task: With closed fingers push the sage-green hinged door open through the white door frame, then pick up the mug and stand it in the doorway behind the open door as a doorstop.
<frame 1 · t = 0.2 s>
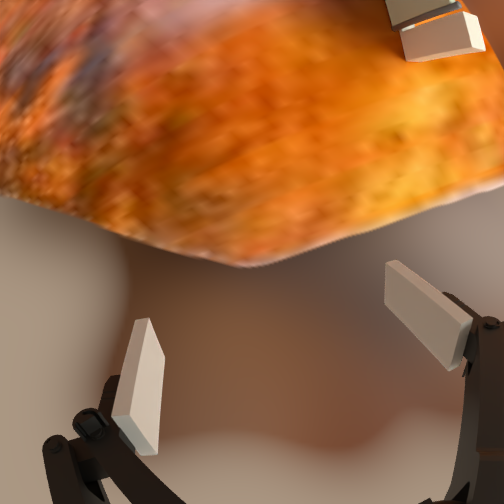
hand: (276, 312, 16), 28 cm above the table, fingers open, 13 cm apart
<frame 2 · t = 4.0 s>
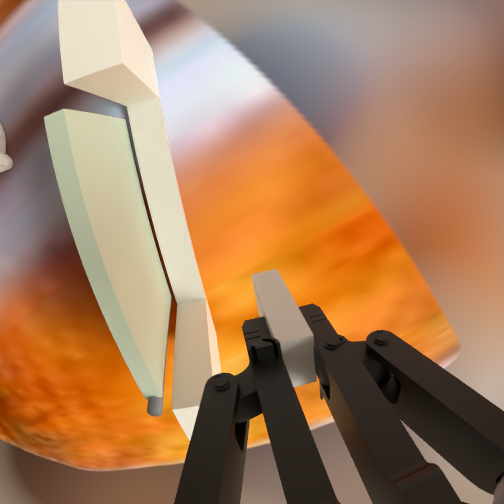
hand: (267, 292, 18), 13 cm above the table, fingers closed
door: (116, 247, 21), point 8 cm above the table, hinge at 0.0°
wall frame: (166, 206, 29), on the table
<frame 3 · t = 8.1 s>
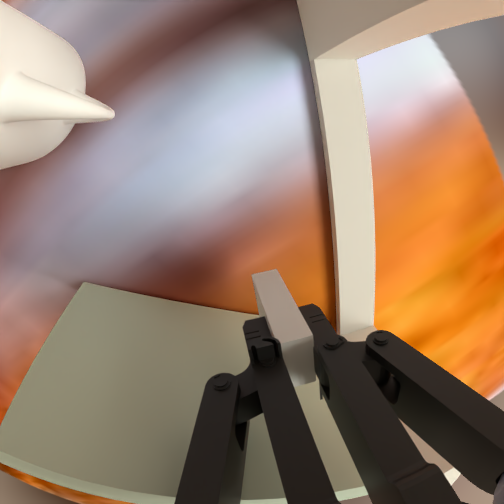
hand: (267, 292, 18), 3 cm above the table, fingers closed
door: (219, 399, 15), point 8 cm above the table, hinge at 65.2°, touching hand
mug: (54, 102, 15), on the table
wall frame: (349, 206, 21), on the table
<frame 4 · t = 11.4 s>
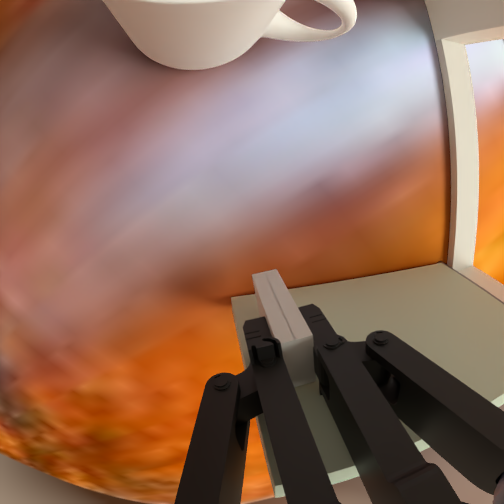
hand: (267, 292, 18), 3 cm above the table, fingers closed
door: (406, 350, 16), point 8 cm above the table, hinge at 84.6°, touching gripper
mug: (222, 21, 16), on the table
wall frame: (461, 157, 21), on the table
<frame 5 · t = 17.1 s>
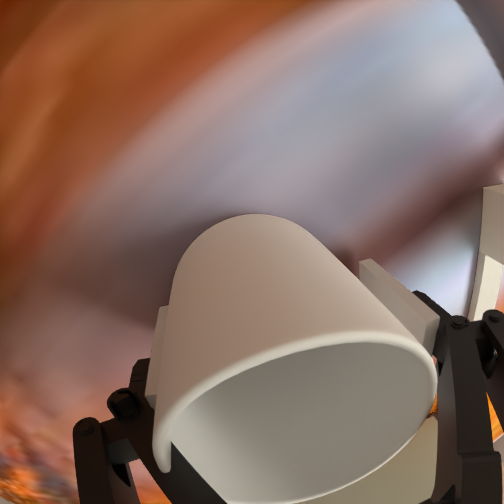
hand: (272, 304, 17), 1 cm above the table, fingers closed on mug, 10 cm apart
mug: (279, 291, 18), on the table, touching gripper
wall frame: (469, 344, 23), on the table
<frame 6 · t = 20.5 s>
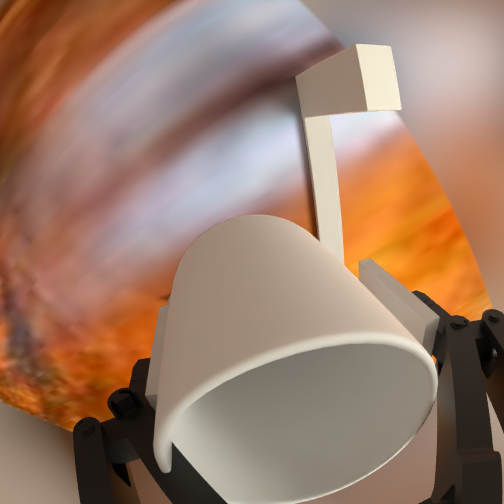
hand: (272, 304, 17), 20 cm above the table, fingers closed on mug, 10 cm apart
door: (256, 326, 32), point 8 cm above the table, hinge at 86.1°
mug: (279, 292, 18), point 19 cm above the table, touching gripper
wall frame: (325, 200, 37), on the table
when the fingers open (3 cm above the table, at t = 24.1 s): mug drops 2 cm, on the table.
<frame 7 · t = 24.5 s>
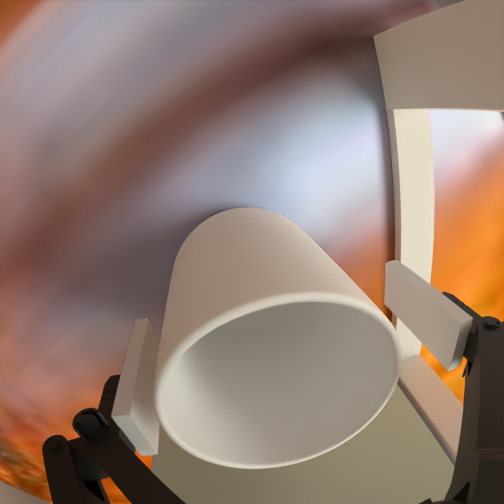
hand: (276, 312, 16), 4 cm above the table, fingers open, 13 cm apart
door: (301, 470, 16), point 8 cm above the table, hinge at 86.1°
mug: (269, 278, 20), on the table
wall frame: (411, 251, 21), on the table
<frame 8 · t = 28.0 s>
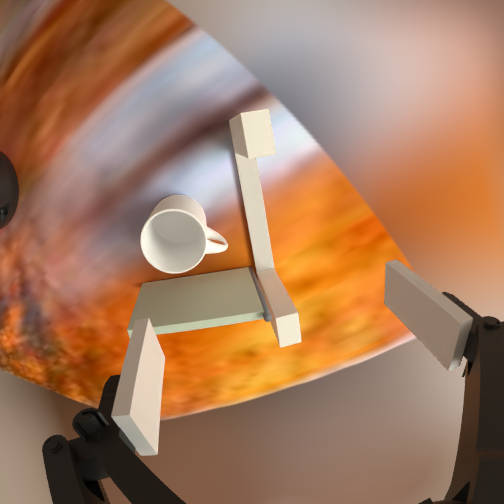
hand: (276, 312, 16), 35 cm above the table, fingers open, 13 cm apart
door: (198, 304, 46), point 8 cm above the table, hinge at 86.1°
mug: (189, 223, 49), on the table
wall frame: (255, 212, 50), on the table
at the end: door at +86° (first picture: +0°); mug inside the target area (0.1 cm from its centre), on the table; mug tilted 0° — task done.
